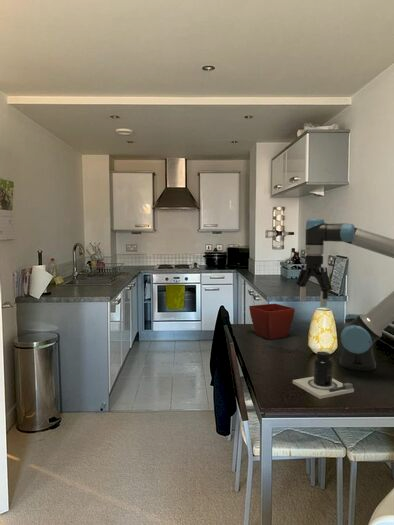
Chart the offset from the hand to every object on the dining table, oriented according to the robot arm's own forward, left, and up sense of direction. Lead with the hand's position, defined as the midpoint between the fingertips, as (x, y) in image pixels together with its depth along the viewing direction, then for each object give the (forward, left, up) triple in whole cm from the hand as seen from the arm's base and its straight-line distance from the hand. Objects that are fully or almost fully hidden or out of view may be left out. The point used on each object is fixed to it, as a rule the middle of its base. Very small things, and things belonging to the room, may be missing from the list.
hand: (312, 303), depth 171 cm
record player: (+10, +19, -29) cm, 36 cm away
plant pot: (-14, -52, -29) cm, 61 cm away
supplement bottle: (+10, +19, -27) cm, 35 cm away
